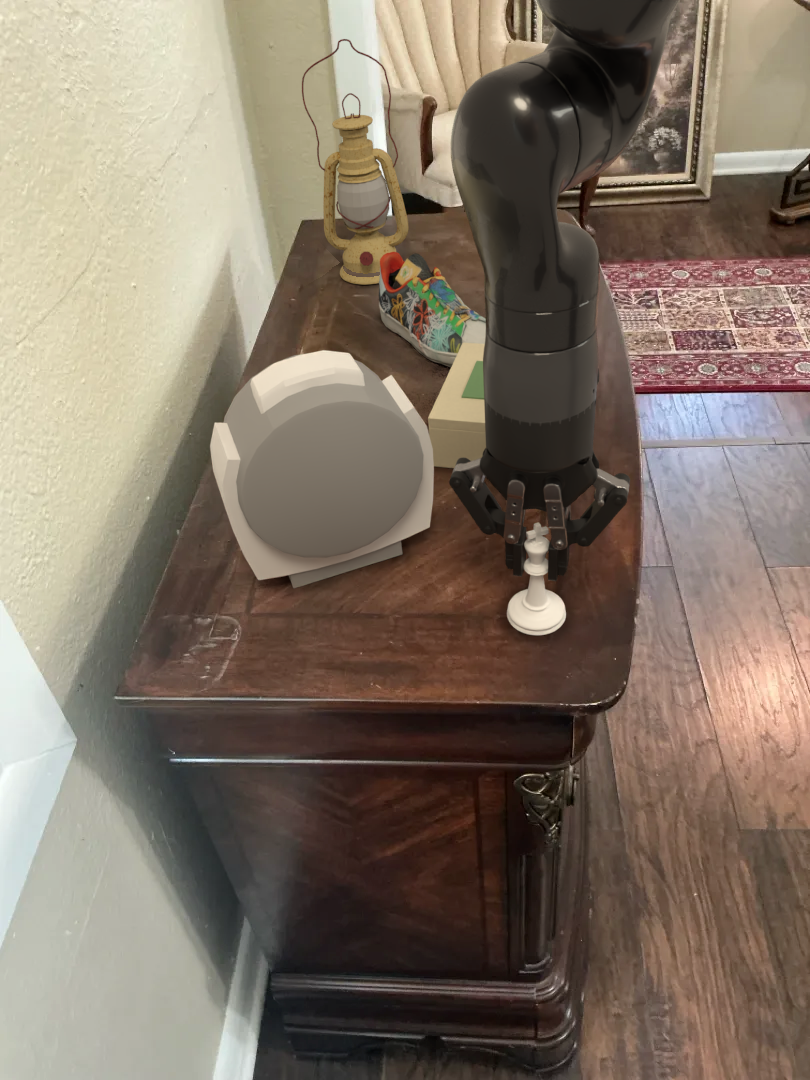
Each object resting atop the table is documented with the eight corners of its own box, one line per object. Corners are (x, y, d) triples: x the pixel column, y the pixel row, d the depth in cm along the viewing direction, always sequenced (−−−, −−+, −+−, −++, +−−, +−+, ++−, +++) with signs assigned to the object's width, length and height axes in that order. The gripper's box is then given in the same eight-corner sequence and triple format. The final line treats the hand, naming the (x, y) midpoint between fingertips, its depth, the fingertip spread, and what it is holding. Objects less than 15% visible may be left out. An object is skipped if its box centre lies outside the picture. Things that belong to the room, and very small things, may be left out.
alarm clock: (414, 500, 85) (394, 314, 72) (446, 553, 79) (431, 360, 66) (238, 554, 82) (181, 368, 69) (257, 613, 76) (199, 422, 62)
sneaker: (471, 385, 100) (466, 308, 94) (364, 326, 114) (354, 255, 107) (519, 361, 103) (517, 284, 97) (409, 306, 117) (402, 235, 110)
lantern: (327, 290, 122) (288, 54, 102) (333, 260, 130) (298, 34, 110) (411, 284, 121) (389, 44, 101) (412, 254, 129) (392, 25, 109)
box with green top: (569, 396, 97) (571, 347, 93) (547, 478, 86) (548, 426, 82) (464, 388, 100) (462, 340, 96) (432, 466, 89) (427, 416, 85)
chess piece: (576, 625, 71) (581, 535, 65) (520, 642, 71) (520, 553, 64) (550, 586, 75) (553, 497, 68) (498, 602, 74) (495, 513, 68)
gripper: (425, 409, 57) (442, 592, 69) (641, 427, 54) (620, 617, 65) (452, 352, 62) (463, 531, 74) (650, 364, 59) (629, 551, 70)
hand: (537, 570), depth 69 cm, fingers closed on chess piece
